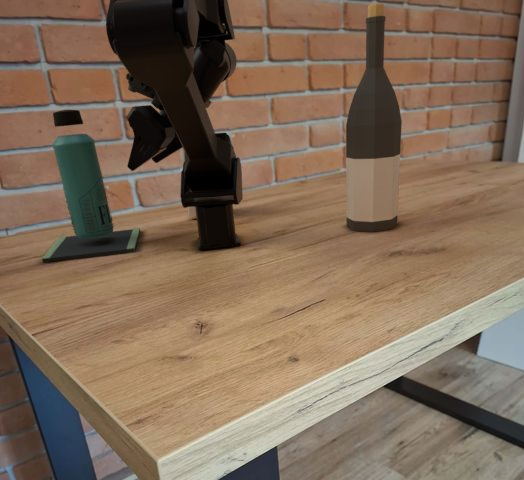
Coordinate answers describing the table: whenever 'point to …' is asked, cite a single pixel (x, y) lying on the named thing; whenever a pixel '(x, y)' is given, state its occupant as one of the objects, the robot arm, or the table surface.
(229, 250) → the table surface
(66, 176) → the beverage bottle
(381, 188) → the wine bottle
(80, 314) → the table surface
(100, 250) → the dark square mat
